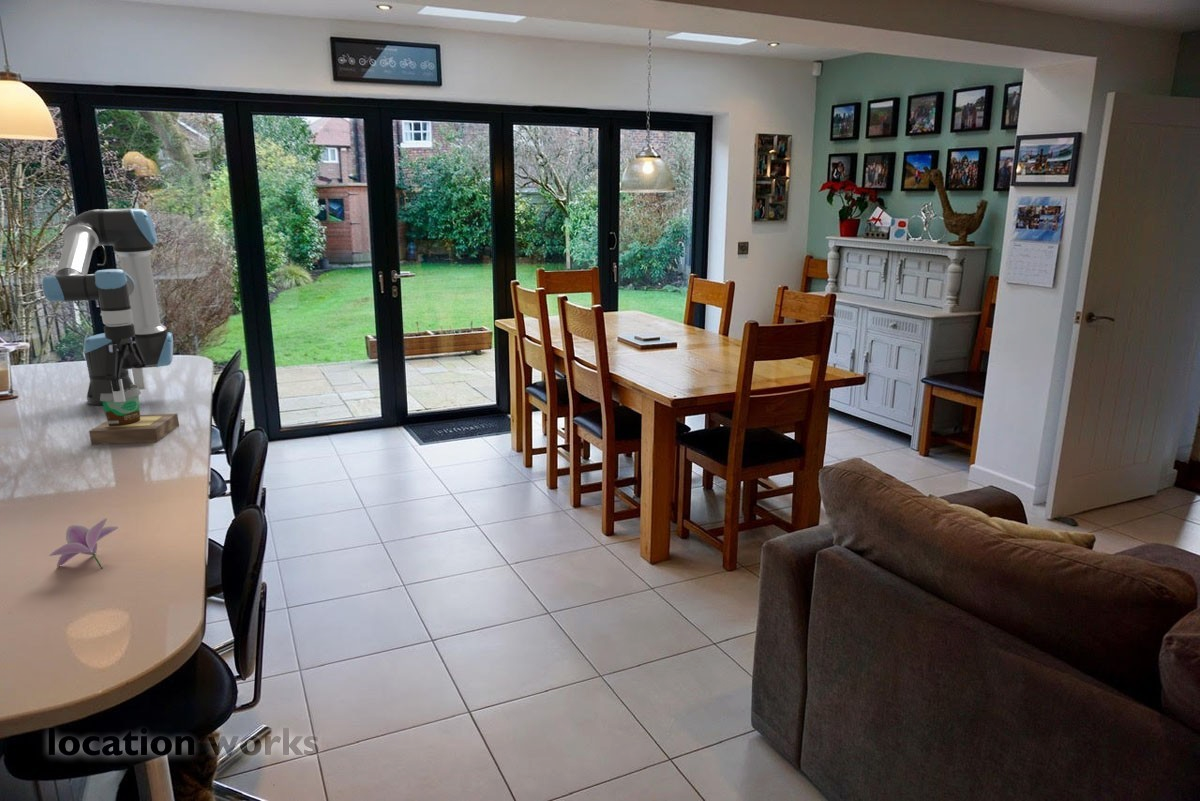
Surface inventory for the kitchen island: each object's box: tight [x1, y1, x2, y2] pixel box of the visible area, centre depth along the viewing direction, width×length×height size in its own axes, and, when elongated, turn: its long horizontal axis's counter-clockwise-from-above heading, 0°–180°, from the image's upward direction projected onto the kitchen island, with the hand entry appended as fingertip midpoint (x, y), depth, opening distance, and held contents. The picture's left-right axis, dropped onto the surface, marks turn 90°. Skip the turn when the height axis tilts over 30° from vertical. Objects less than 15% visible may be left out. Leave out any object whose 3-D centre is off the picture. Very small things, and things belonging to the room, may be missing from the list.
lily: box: [48, 518, 119, 568], centre depth 152 cm, size 12×12×10 cm
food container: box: [100, 384, 142, 426], centre depth 231 cm, size 12×6×10 cm, turn 168°
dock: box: [88, 413, 180, 445], centre depth 233 cm, size 16×18×4 cm
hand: (130, 395), depth 231 cm, fingers open, 13 cm apart
